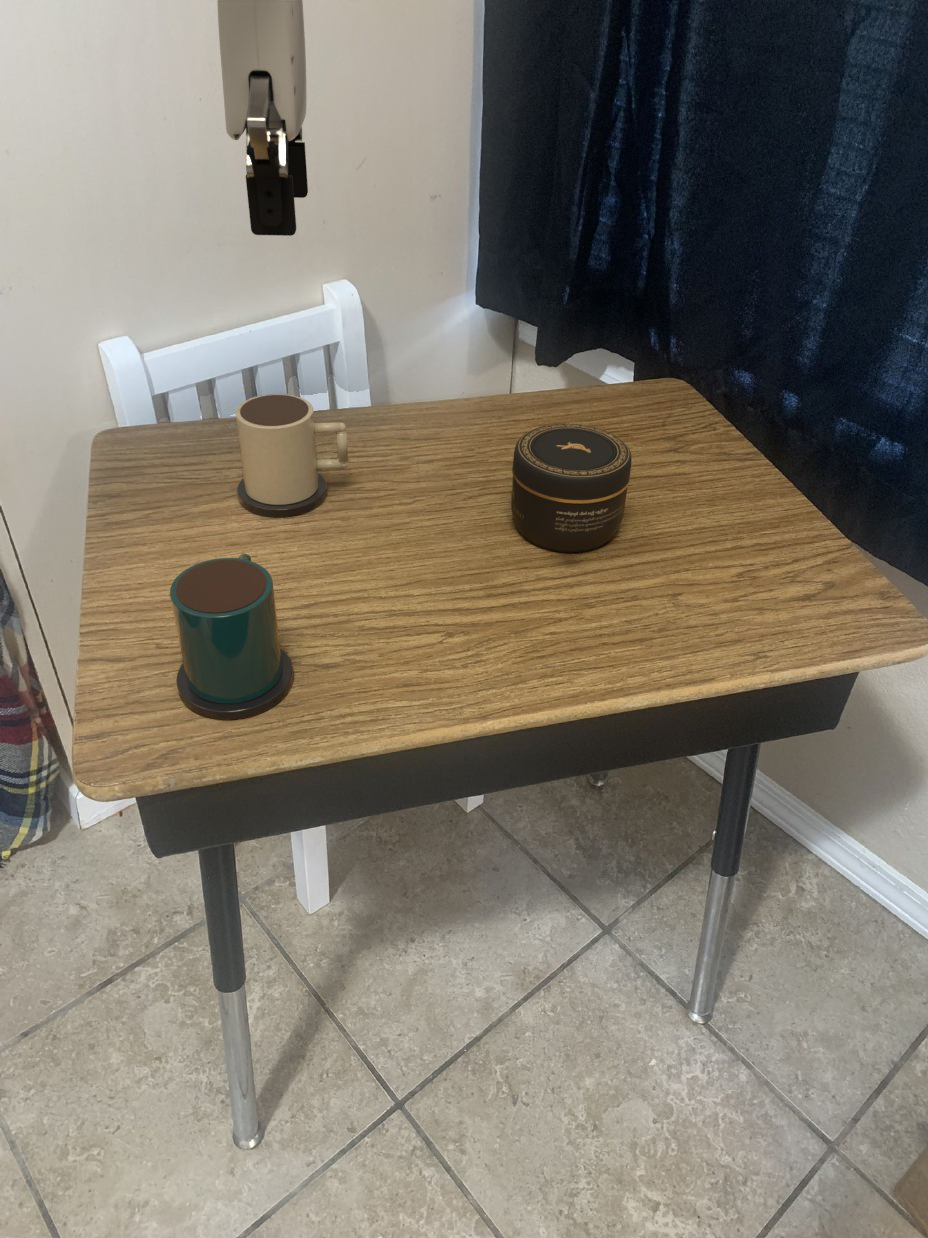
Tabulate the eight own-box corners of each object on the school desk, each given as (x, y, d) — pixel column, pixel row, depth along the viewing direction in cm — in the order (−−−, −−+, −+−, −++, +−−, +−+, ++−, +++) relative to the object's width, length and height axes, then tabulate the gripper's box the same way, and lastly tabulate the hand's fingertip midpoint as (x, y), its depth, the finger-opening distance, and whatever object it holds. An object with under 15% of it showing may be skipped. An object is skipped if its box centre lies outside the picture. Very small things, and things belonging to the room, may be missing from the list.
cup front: (271, 707, 66) (260, 619, 61) (174, 701, 66) (156, 613, 61) (297, 621, 73) (289, 537, 69) (210, 616, 73) (196, 531, 69)
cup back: (242, 506, 86) (232, 428, 81) (247, 469, 91) (238, 393, 86) (349, 503, 87) (345, 425, 82) (348, 466, 92) (344, 391, 87)
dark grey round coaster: (239, 521, 85) (238, 513, 85) (236, 475, 91) (235, 468, 91) (331, 513, 87) (330, 505, 86) (322, 468, 93) (321, 461, 92)
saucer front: (177, 727, 65) (175, 718, 65) (178, 651, 71) (176, 643, 71) (297, 712, 67) (297, 703, 66) (289, 639, 73) (288, 630, 72)
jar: (498, 499, 89) (503, 423, 85) (604, 492, 91) (614, 417, 86) (521, 561, 82) (527, 482, 77) (636, 553, 83) (649, 474, 78)
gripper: (221, -68, 71) (247, 182, 82) (175, -48, 57) (213, 249, 68) (325, -65, 71) (337, 184, 82) (304, -44, 58) (322, 251, 68)
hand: (281, 214), depth 75 cm, fingers open, 9 cm apart
